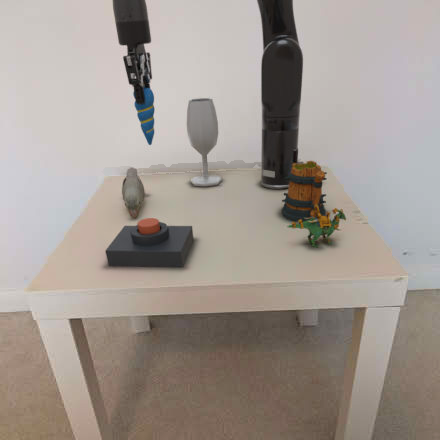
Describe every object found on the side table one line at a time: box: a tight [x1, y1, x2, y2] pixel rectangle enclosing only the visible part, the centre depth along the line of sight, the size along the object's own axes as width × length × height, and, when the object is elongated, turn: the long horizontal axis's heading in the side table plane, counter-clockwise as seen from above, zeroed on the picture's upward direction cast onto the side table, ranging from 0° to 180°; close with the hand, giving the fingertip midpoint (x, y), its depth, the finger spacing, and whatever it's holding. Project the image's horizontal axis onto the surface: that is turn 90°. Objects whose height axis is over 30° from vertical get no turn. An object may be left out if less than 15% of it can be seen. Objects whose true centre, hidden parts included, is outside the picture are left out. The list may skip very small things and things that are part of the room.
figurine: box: [286, 204, 347, 248], centre depth 74 cm, size 3×12×8 cm, turn 105°
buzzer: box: [104, 221, 194, 268], centre depth 76 cm, size 14×11×5 cm
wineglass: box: [186, 97, 222, 187], centre depth 105 cm, size 9×9×21 cm
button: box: [136, 217, 160, 234], centre depth 74 cm, size 4×4×2 cm
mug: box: [281, 160, 328, 223], centre depth 85 cm, size 13×10×12 cm
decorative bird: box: [121, 166, 146, 219], centre depth 96 cm, size 5×16×8 cm, turn 9°
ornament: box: [132, 84, 155, 146], centre depth 101 cm, size 5×5×15 cm
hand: (144, 101), depth 100 cm, fingers closed on ornament, 5 cm apart
